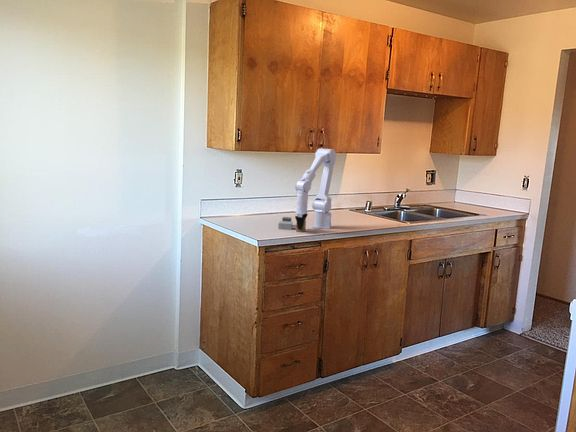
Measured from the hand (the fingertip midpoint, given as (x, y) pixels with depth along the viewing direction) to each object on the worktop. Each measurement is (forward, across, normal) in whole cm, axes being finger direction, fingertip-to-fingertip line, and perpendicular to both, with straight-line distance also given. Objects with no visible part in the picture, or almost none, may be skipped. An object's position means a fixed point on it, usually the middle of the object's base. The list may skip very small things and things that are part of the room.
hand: (300, 228), depth 263 cm
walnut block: (+2, 0, 0) cm, 2 cm away
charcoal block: (+2, -12, -10) cm, 16 cm away
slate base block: (+2, -4, -9) cm, 10 cm away
